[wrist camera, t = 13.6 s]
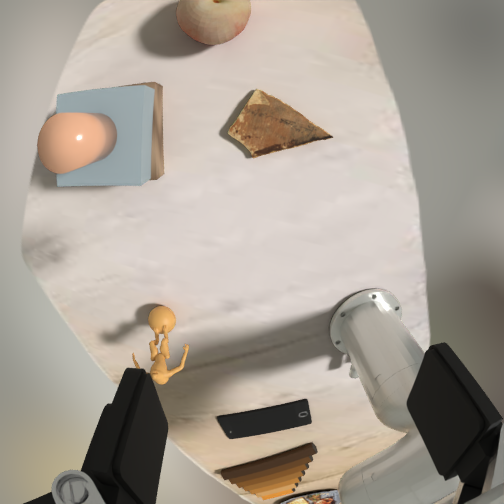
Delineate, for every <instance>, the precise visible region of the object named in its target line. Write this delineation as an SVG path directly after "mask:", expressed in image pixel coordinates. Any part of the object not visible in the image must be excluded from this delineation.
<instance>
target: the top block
mask: <svg viewBox="0 0 504 504" xmlns="http://www.w3.org/2000/svg"><path fill="white" fill-rule="evenodd" d="M154 92H155V89H153V88H151V87H148V86H146V85H138V86H123V87H112V88H102V89H93V90H85V91H78V92H71V93H64V94H58V95H57V107H56V114H58V113H102V114H105V115H107V116H108V117H110V118H111V119H112V121H113V122H114V124H115V126H116V129H117V141H116V145H115V147H114V149H113V151H112V152H111V153H110V155H109V156H107V157H106V158H105V159H103V160H100V161H97V162H95V163H92V164H89V165H86V166H83V167H81V168H78V169H75V170H73V171H70V172H67V173H64V174H57V173H56V174H57V187H60V186H141V185H143V184H144V183H145V182H147V181H148V180H150V179H151V148H152V124H153V106H154Z"/></svg>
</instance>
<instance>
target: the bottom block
mask: <svg viewBox="0 0 504 504" xmlns="http://www.w3.org/2000/svg"><path fill="white" fill-rule="evenodd" d="M138 85H146V86H148V87H151V88H153V89H155V92H154V106H153V124H152V148H151V179H150V180H157V179H158V178H160V177H161V176H162V175H163V174H164V156H163V86H161V85H160V84H158V83H156V82H149V83H141V84H133V85H126V86H138ZM119 87H123V86H119ZM72 187H73V186H72Z"/></svg>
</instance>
